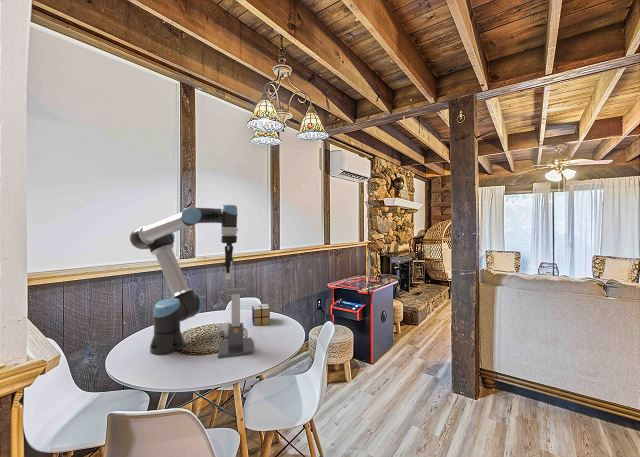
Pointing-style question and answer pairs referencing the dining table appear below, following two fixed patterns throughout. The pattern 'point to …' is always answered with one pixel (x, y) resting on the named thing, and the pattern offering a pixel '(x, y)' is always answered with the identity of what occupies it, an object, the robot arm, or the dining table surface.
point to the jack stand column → (235, 306)
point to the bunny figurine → (223, 329)
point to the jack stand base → (235, 343)
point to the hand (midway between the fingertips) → (228, 276)
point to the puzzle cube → (260, 314)
